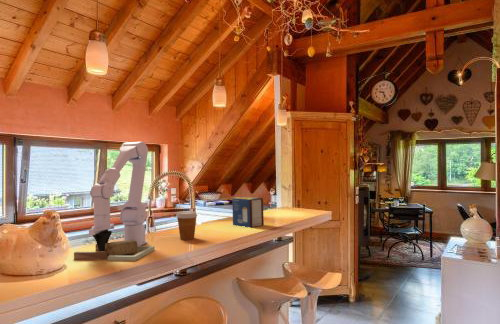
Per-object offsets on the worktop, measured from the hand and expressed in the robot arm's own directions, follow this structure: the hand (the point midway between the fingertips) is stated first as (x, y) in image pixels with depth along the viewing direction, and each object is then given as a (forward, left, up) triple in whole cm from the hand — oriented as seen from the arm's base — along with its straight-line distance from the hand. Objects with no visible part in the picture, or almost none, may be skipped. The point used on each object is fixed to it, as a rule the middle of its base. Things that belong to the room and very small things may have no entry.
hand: (102, 250), depth 136 cm
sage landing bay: (0, +11, -1) cm, 11 cm away
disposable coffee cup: (-32, +23, -2) cm, 40 cm away
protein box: (-72, +46, -2) cm, 86 cm away
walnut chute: (0, -1, -1) cm, 2 cm away
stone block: (0, +7, -2) cm, 7 cm away
